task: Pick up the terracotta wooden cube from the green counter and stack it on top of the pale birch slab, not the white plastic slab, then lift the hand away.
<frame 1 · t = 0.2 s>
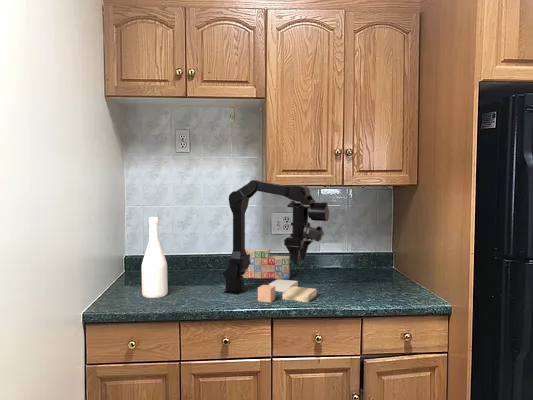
hand: (299, 261, 169), 14 cm above the worktop, fingers open, 9 cm apart
birch slab: (299, 298, 172), on the worktop
terracotta cube: (266, 300, 168), on the worktop
wine bottle: (154, 295, 174), on the worktop
stack of blocks: (265, 277, 205), on the worktop
white plastic slab: (283, 289, 184), on the worktop
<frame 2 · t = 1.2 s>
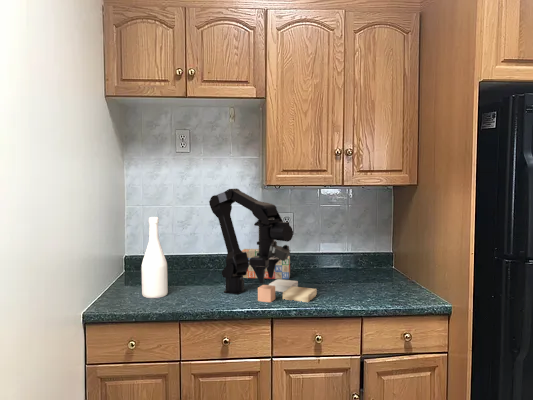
hand: (266, 280, 168), 7 cm above the worktop, fingers open, 9 cm apart
nothing on the worktop moved.
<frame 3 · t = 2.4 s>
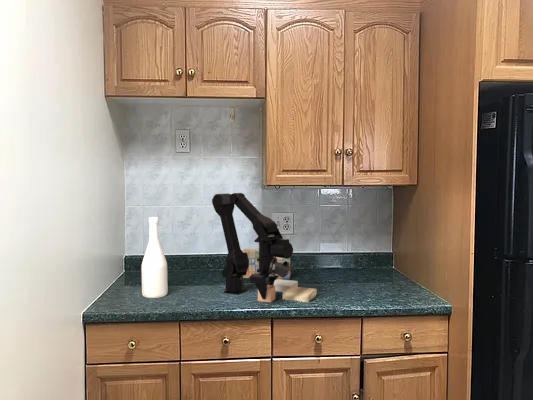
hand: (266, 297, 168), 1 cm above the worktop, fingers closed on terracotta cube, 5 cm apart
terracotta cube: (266, 299, 168), on the worktop, touching gripper
everything else where it was.
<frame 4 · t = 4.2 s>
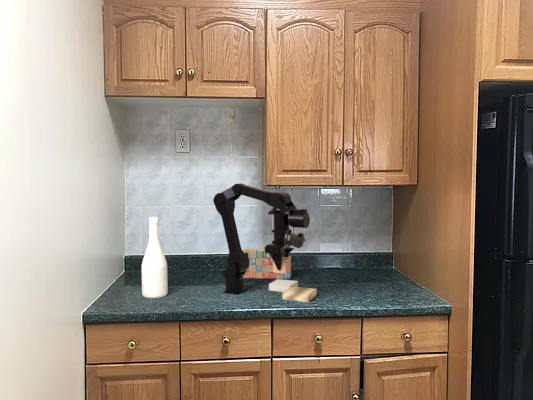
hand: (281, 268, 169), 11 cm above the worktop, fingers closed on terracotta cube, 5 cm apart
terracotta cube: (281, 271, 169), point 10 cm above the worktop, touching gripper
everything else where it was.
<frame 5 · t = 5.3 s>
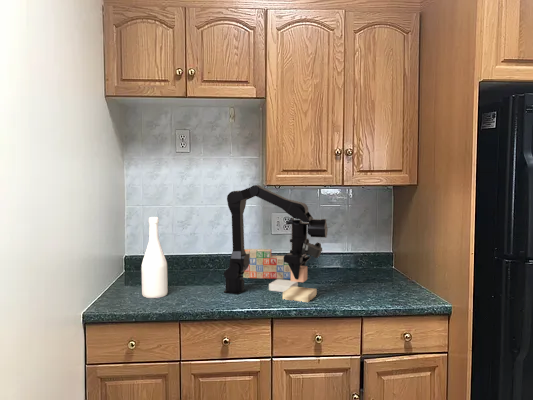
hand: (298, 277, 172), 7 cm above the worktop, fingers closed on terracotta cube, 5 cm apart
terracotta cube: (299, 280, 172), point 6 cm above the worktop, touching gripper
everything else where it was.
when the fingers open (5 cm above the worktop, at t = 6.0 s): terracotta cube drops 2 cm, resting on birch slab.
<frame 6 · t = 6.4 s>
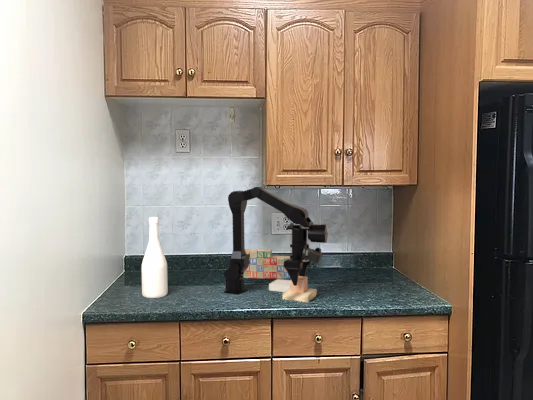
hand: (299, 282, 172), 5 cm above the worktop, fingers open, 9 cm apart
birch slab: (299, 298, 172), on the worktop, touching terracotta cube
terracotta cube: (299, 290, 172), point 2 cm above the worktop, touching birch slab
everything else where it was.
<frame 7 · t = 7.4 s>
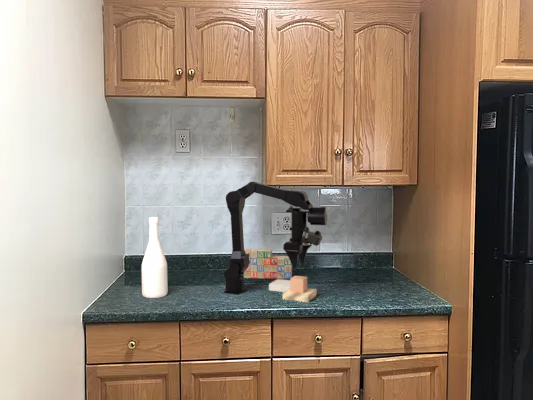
hand: (298, 265, 171), 12 cm above the worktop, fingers open, 9 cm apart
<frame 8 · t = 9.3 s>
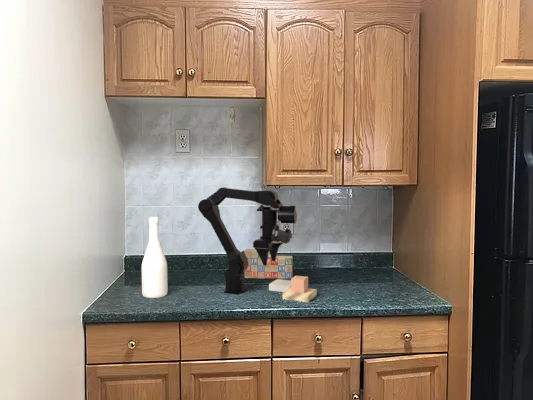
hand: (269, 263, 176), 12 cm above the worktop, fingers open, 9 cm apart
birch slab: (299, 298, 172), on the worktop
terracotta cube: (299, 290, 172), point 2 cm above the worktop
at the end: terracotta cube 0.2 cm off-centre on the birch slab, point 3.0 cm above the birch slab's base; terracotta cube tilted 0°; the gripper is holding nothing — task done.
